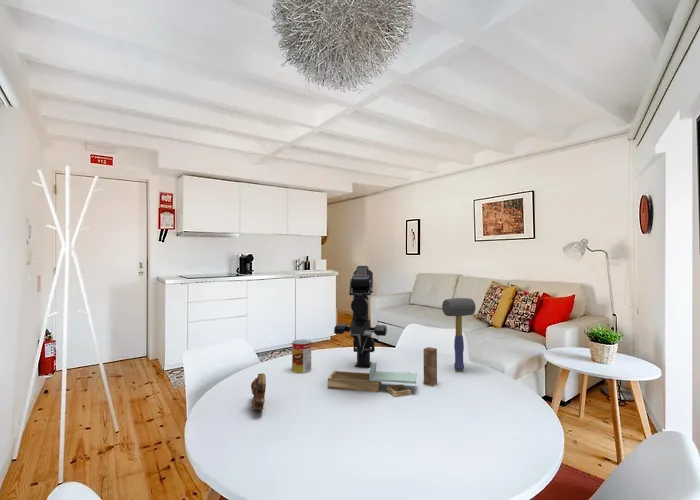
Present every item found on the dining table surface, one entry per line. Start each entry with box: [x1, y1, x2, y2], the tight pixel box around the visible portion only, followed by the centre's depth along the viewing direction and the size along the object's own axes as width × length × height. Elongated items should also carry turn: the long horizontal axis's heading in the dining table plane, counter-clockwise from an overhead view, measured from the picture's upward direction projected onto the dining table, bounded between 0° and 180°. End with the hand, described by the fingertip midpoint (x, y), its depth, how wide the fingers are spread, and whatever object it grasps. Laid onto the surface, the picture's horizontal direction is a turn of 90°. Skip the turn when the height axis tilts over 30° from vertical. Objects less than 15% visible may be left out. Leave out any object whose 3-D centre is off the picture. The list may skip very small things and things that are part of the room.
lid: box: [369, 362, 417, 385], centre depth 127 cm, size 9×16×4 cm, turn 79°
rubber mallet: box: [441, 297, 477, 372], centre depth 148 cm, size 12×8×30 cm, turn 107°
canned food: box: [291, 338, 312, 374], centre depth 148 cm, size 8×8×12 cm
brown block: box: [423, 346, 438, 387], centre depth 132 cm, size 4×4×13 cm
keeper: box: [386, 383, 412, 398], centre depth 123 cm, size 6×6×2 cm
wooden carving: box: [250, 372, 267, 411], centre depth 111 cm, size 16×5×10 cm, turn 21°
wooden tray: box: [327, 370, 382, 393], centre depth 130 cm, size 9×18×4 cm, turn 79°
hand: (360, 353), depth 130 cm, fingers closed
